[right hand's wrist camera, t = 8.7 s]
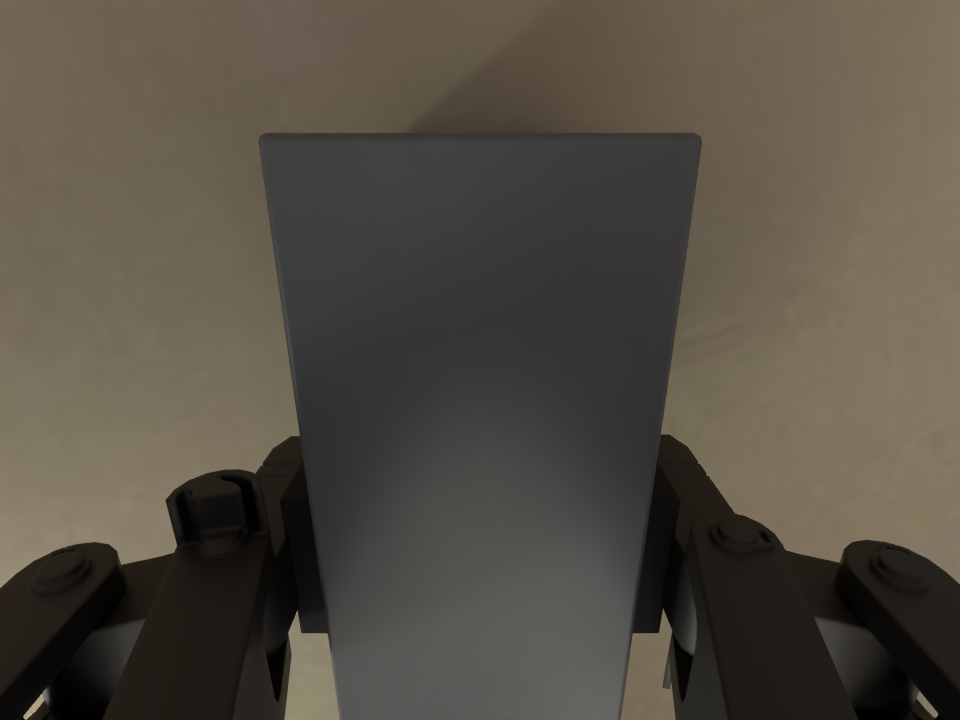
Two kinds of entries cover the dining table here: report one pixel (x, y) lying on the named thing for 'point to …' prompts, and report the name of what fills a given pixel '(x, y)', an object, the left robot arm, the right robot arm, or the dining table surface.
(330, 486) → the beam
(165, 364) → the dining table surface
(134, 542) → the dining table surface
